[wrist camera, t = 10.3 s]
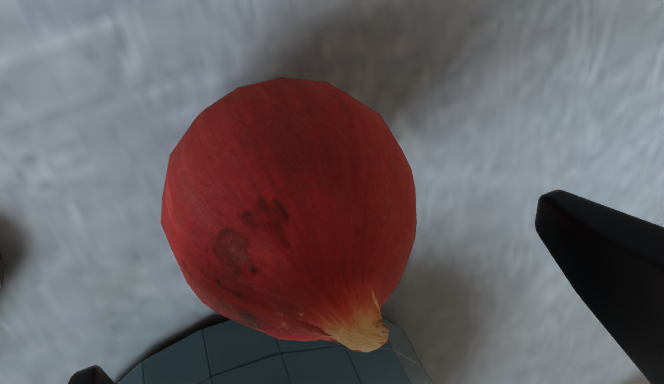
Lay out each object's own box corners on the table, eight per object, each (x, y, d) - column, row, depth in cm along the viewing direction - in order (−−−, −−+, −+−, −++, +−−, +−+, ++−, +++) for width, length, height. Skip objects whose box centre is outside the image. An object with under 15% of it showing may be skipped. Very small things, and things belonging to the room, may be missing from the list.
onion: (189, 230, 17) (240, 482, 11) (115, 66, 13) (130, 312, 7) (359, 172, 18) (493, 373, 12) (336, 4, 14) (516, 173, 8)
